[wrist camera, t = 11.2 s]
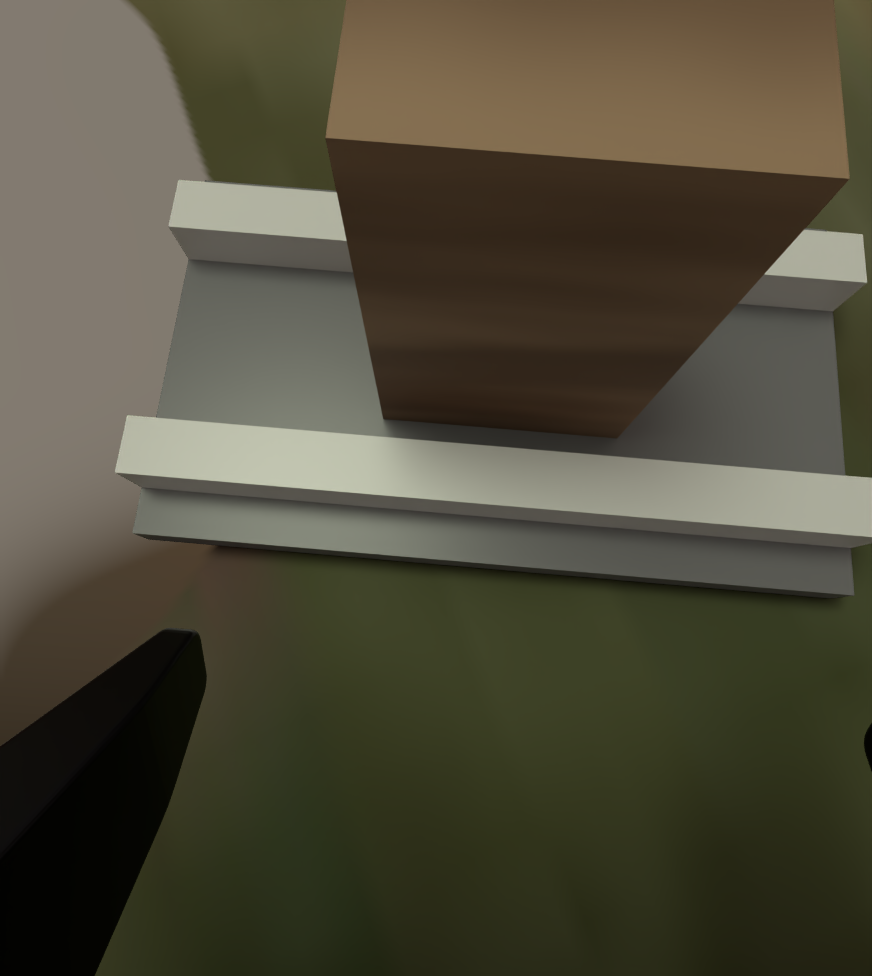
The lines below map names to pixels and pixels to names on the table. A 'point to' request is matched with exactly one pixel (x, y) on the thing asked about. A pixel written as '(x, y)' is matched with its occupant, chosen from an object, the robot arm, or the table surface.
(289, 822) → the table surface
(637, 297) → the wooden block
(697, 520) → the track board
